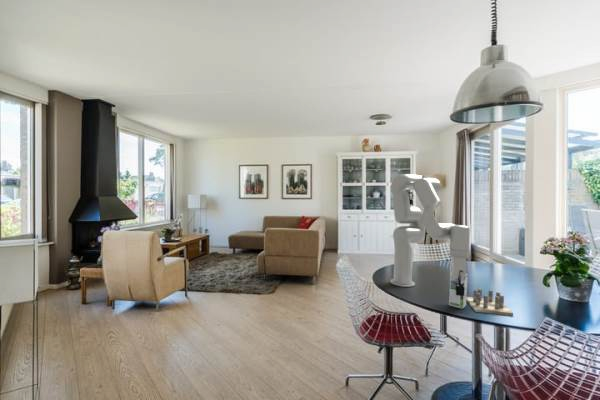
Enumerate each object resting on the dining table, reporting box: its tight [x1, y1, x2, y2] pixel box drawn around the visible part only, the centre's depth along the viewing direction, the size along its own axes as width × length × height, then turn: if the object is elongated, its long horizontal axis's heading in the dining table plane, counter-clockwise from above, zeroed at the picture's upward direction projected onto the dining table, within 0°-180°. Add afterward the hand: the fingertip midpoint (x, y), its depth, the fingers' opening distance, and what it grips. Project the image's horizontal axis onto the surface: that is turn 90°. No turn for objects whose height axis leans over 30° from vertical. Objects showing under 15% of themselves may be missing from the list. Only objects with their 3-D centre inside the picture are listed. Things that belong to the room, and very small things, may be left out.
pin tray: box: [466, 288, 514, 317], centre depth 134 cm, size 16×14×6 cm
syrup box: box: [448, 273, 469, 310], centre depth 135 cm, size 6×6×14 cm
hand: (457, 292), depth 135 cm, fingers closed on syrup box, 7 cm apart
